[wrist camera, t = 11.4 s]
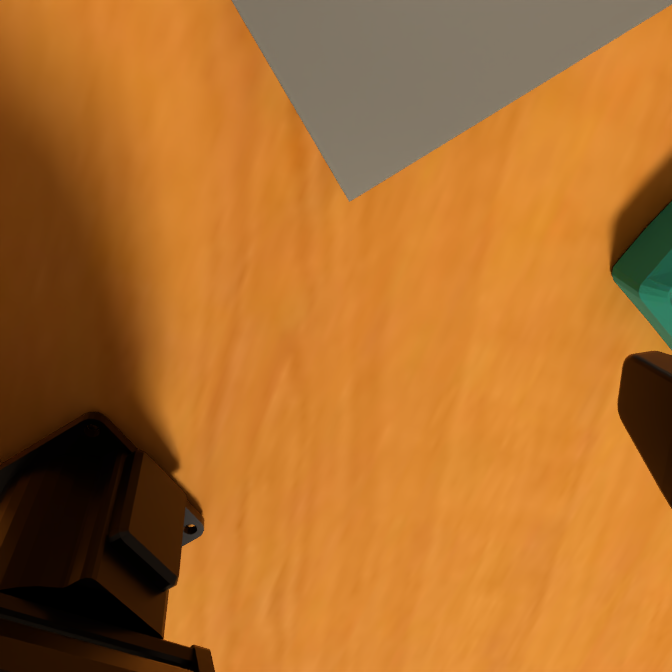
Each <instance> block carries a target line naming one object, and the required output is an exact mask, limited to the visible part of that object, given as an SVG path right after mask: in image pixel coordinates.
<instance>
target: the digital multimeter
mask: <svg viewBox="0 0 672 672" xmlns="http://www.w3.org/2000/svg"><path fill="white" fill-rule="evenodd" d="M612 277H613V280H614V281H615V283H616V284H617V285H618V286H619V287H620V288H621V290H622V291H623V292H624V293H625V294H626V295H627V297H628V298H629V299H630V300H631V301H632V303H633V304H634V305H635V306H636V307H637V308H638V310H639V311H640V312H641V313H642V314H643V315H644V317H645V318H646V319H647V320H648V321H649V323H650V324H651V325H652V326H653V327H654V329H655V330H656V331H657V332H658V334H659V335H660V336H661V337H662V339H663V340H664V341H665V342H666V344H667V345H668V346H669V347H670V349H671V350H672V201H671V202H670V203H669V204H668V205H667V207H666V208H665V209H664V210H663V211H662V212H661V213H660V214H659V215H658V216H657V217H656V218H655V219H654V220H653V221H652V222H651V223H650V224H649V225H648V226H647V227H646V228H645V230H644V231H643V232H642V233H641V234H640V235H639V237H638V238H637V239H636V240H635V241H634V243H633V244H632V245H631V246H630V247H629V249H628V250H627V251H626V252H625V253H624V255H623V256H622V257H621V258H620V259H619V260H618V262H617V263H616V264H615V265H614V267H613V271H612Z"/></svg>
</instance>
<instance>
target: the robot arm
mask: <svg viewBox="0 0 672 672" xmlns="http://www.w3.org/2000/svg"><path fill="white" fill-rule="evenodd" d="M618 412H619V416H620V419H621V421H622V423H623V425H624V426H625V428H626V430H627V432H628V433H629V435H630V437H631V439H632V441H633V442H634V444H635V446H636V448H637V449H638V451H639V453H640V455H641V457H642V458H643V460H644V462H645V464H646V465H647V467H648V469H649V471H650V473H651V474H652V476H653V478H654V480H655V482H656V483H657V485H658V487H659V489H660V490H661V492H662V494H663V495H664V497H665V499H666V500H667V502H668V504H669V505H670V507H671V508H672V355H669V354H666V353H662V352H659V351H649V352H642V353H636V354H631V355H629V356H628V357H627V358H626V359H625V361H624V363H623V367H622V374H621V381H620V388H619V395H618ZM88 425H96V426H97V427H99V430H91V429H89V428H88V427H87V426H88ZM189 524H193V525H195V526H193V527H188V526H186V525H189ZM203 531H204V518H203V516H202V515H201V514H200V513H199V512H198V511H197V510H196V509H195V508H194V507H193V506H192V505H191V504H190V503H189V502H188V501H187V500H186V494H185V493H184V492H183V491H182V490H181V488H180V487H179V486H178V485H177V484H176V483H175V482H174V481H173V480H172V479H171V478H170V477H169V476H168V475H167V474H166V473H165V472H164V471H163V470H162V469H161V468H160V467H159V466H158V465H157V464H156V463H155V462H154V461H153V459H152V458H151V457H150V456H149V455H148V454H147V453H146V452H143V451H140V450H138V449H137V448H136V447H135V446H134V445H133V444H132V443H131V442H130V441H129V440H128V439H127V438H126V437H125V436H124V435H123V434H122V433H121V432H120V431H119V430H118V429H117V428H116V427H115V425H114V424H113V423H112V422H111V421H110V420H109V419H108V418H107V417H106V416H104V415H103V414H101V413H97V412H89V413H86V414H84V415H82V416H81V417H79V418H77V419H76V420H74V421H72V422H71V423H69V424H67V425H66V426H64V427H62V428H61V429H59V430H57V431H56V432H54V433H52V434H51V435H49V436H47V437H46V438H44V439H42V440H41V441H39V442H37V443H36V444H34V445H32V446H31V447H29V448H27V449H26V450H24V451H22V452H21V453H19V454H17V455H16V456H14V457H12V458H11V459H9V460H7V461H6V462H4V463H2V464H1V465H0V672H215V670H214V665H213V661H212V656H211V652H210V649H207V648H203V647H200V646H196V645H192V646H191V647H187V646H184V645H180V644H177V643H173V642H170V641H166V640H163V638H164V629H165V620H166V611H167V602H168V593H169V589H170V588H172V587H174V586H176V585H177V582H178V577H179V569H180V559H181V548H182V546H184V545H185V544H187V543H189V542H191V541H193V540H194V539H196V538H198V537H199V536H201V535H202V533H203Z"/></svg>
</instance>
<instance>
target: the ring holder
mask: <svg viewBox="0 0 672 672" xmlns="http://www.w3.org/2000/svg"><path fill="white" fill-rule="evenodd" d="M232 2H233V4H234V5H235V7H236V9H237V10H238V12H239V14H240V15H241V17H242V19H243V21H244V22H245V24H246V26H247V27H248V29H249V31H250V33H251V34H252V36H253V38H254V39H255V41H256V43H257V45H258V46H259V48H260V50H261V51H262V53H263V55H264V57H265V58H266V60H267V62H268V63H269V65H270V67H271V69H272V70H273V72H274V74H275V75H276V77H277V79H278V81H279V82H280V84H281V86H282V87H283V89H284V91H285V92H286V94H287V96H288V98H289V99H290V101H291V103H292V104H293V106H294V108H295V110H296V111H297V113H298V115H299V116H300V118H301V120H302V122H303V123H304V125H305V127H306V128H307V130H308V132H309V134H310V135H311V137H312V139H313V140H314V142H315V144H316V146H317V147H318V149H319V151H320V152H321V154H322V156H323V157H324V159H325V161H326V163H327V164H328V166H329V168H330V169H331V171H332V173H333V175H334V176H335V178H336V180H337V181H338V183H339V185H340V187H341V188H342V190H343V192H344V193H345V195H346V197H347V199H348V200H349V202H350V201H352V200H353V199H355V198H356V197H358V196H360V195H361V194H363V193H365V192H366V191H368V190H369V189H371V188H373V187H374V186H376V185H378V184H379V183H381V182H383V181H384V180H386V179H387V178H389V177H391V176H392V175H394V174H396V173H397V172H399V171H400V170H402V169H404V168H405V167H407V166H409V165H410V164H412V163H414V162H415V161H417V160H418V159H420V158H422V157H423V156H425V155H427V154H428V153H430V152H431V151H433V150H435V149H436V148H438V147H440V146H441V145H443V144H445V143H446V142H448V141H449V140H451V139H453V138H454V137H456V136H458V135H459V134H461V133H462V132H464V131H466V130H467V129H469V128H471V127H472V126H474V125H476V124H477V123H479V122H480V121H482V120H484V119H485V118H487V117H489V116H490V115H492V114H493V113H495V112H497V111H498V110H500V109H502V108H503V107H505V106H507V105H508V104H510V103H511V102H513V101H515V100H516V99H518V98H520V97H521V96H523V95H524V94H526V93H528V92H529V91H531V90H533V89H534V88H536V87H538V86H539V85H541V84H542V83H544V82H546V81H547V80H549V79H551V78H552V77H554V76H555V75H557V74H559V73H560V72H562V71H564V70H565V69H567V68H569V67H570V66H572V65H573V64H575V63H577V62H578V61H580V60H582V59H583V58H585V57H586V56H588V55H590V54H591V53H593V52H595V51H596V50H598V49H600V48H601V47H603V46H604V45H606V44H608V43H609V42H611V41H613V40H614V39H616V38H617V37H619V36H621V35H622V34H624V33H626V32H627V31H629V30H631V29H632V28H634V27H635V26H637V25H639V24H640V23H642V22H644V21H645V20H647V19H649V18H650V17H652V16H653V15H655V14H657V13H658V12H660V11H662V10H663V9H665V8H666V7H668V6H670V5H671V4H672V0H232Z"/></svg>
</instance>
